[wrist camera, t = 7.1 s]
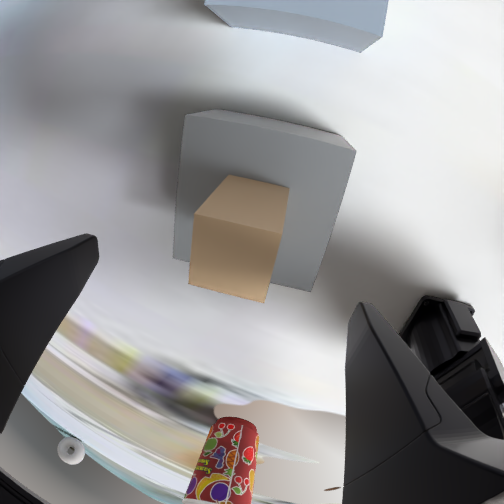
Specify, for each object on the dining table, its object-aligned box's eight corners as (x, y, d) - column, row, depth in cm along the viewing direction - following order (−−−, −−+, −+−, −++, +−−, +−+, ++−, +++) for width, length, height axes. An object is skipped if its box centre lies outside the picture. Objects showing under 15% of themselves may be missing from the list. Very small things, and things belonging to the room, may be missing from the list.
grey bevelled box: (310, 246, 21) (309, 359, 12) (201, 220, 22) (134, 312, 13) (342, 135, 17) (383, 180, 8) (216, 108, 18) (130, 128, 9)
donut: (68, 435, 67) (56, 457, 59) (63, 430, 66) (50, 453, 57) (91, 446, 66) (79, 470, 57) (87, 442, 64) (74, 467, 56)
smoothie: (210, 405, 35) (167, 541, 18) (272, 419, 35) (246, 558, 17) (205, 428, 39) (170, 541, 22) (259, 441, 39) (234, 556, 22)
